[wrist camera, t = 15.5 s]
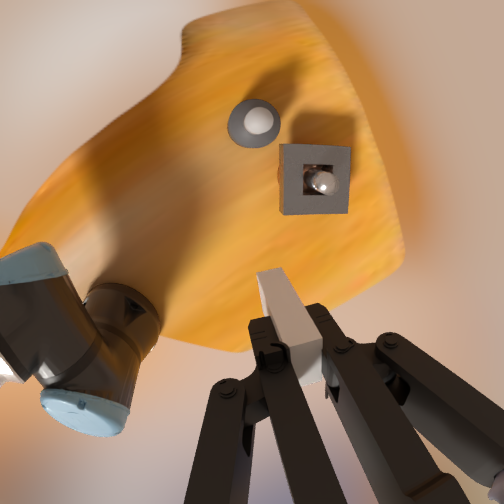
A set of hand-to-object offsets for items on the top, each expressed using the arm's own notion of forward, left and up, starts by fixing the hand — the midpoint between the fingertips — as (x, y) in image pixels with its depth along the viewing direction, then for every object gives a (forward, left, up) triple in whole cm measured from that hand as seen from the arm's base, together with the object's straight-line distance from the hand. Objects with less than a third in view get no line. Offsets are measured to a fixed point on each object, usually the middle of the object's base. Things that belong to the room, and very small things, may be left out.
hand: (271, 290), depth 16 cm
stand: (+1, +11, -24) cm, 27 cm away
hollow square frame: (+9, +4, -21) cm, 23 cm away
